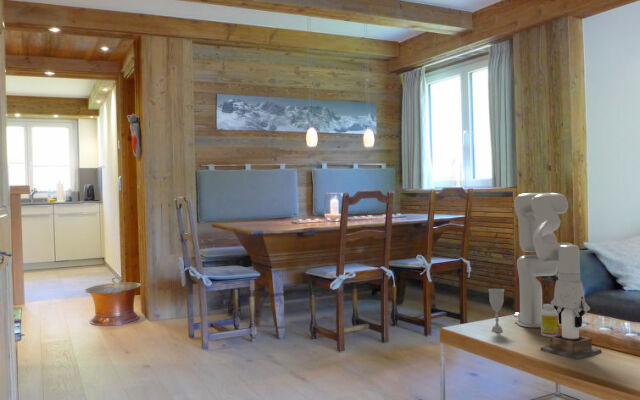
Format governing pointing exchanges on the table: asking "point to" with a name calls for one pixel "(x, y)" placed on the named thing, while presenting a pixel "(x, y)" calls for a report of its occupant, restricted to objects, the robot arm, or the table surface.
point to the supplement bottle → (549, 321)
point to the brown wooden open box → (571, 347)
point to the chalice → (496, 305)
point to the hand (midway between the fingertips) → (570, 324)
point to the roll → (569, 324)
